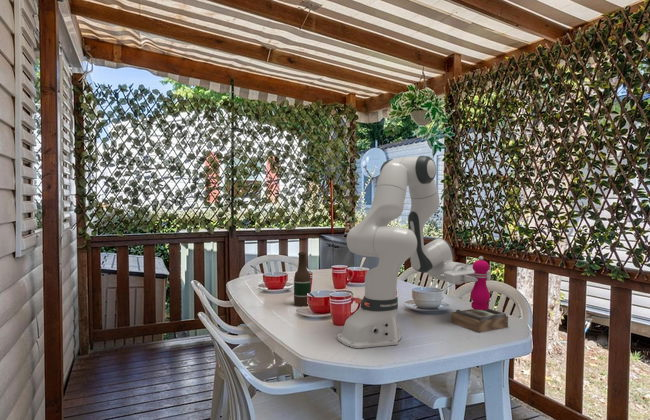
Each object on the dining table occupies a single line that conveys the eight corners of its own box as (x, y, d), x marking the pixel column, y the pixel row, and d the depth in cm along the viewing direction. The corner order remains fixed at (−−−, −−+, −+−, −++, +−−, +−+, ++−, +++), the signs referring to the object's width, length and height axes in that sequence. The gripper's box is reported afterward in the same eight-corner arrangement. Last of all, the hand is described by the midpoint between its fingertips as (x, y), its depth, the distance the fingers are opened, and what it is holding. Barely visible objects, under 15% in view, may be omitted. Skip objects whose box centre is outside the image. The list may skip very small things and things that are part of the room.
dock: (478, 332, 159) (478, 318, 159) (451, 322, 172) (451, 309, 172) (507, 326, 166) (508, 313, 166) (479, 317, 179) (480, 305, 178)
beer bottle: (304, 307, 195) (304, 253, 194) (290, 305, 199) (290, 252, 198) (314, 304, 201) (314, 251, 201) (300, 301, 206) (300, 250, 205)
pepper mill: (491, 311, 164) (492, 257, 163) (471, 310, 166) (472, 257, 165) (488, 306, 171) (489, 255, 170) (468, 304, 173) (469, 254, 172)
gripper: (436, 267, 175) (461, 273, 163) (475, 263, 184) (501, 268, 172) (436, 283, 175) (461, 290, 163) (474, 278, 184) (501, 285, 172)
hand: (482, 279), depth 167 cm, fingers closed on pepper mill, 5 cm apart
